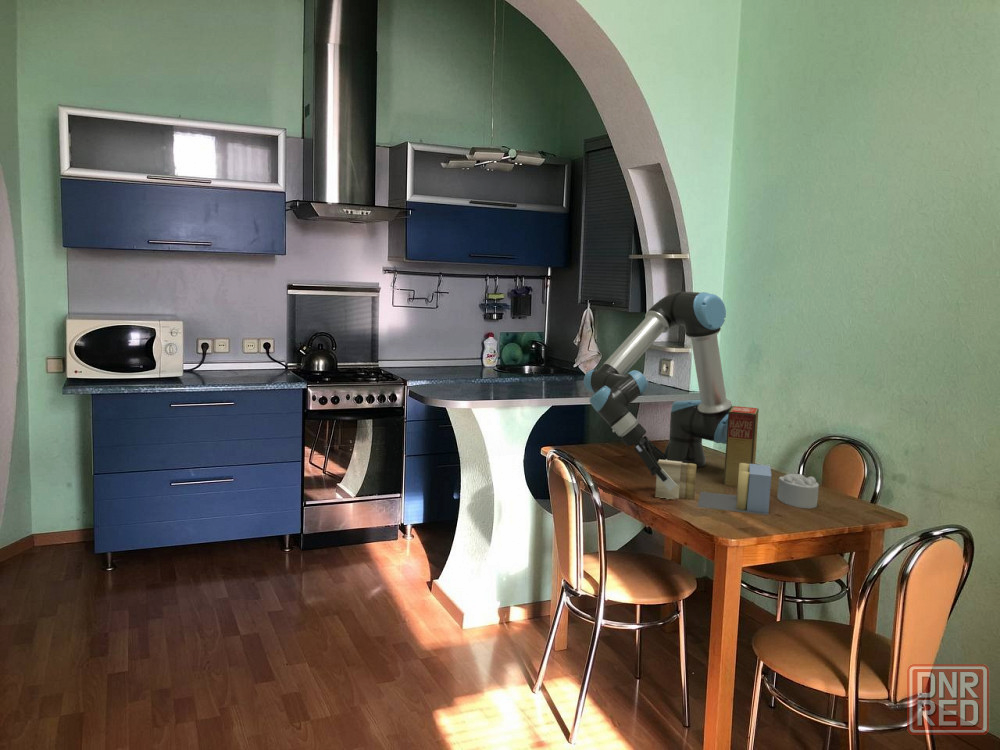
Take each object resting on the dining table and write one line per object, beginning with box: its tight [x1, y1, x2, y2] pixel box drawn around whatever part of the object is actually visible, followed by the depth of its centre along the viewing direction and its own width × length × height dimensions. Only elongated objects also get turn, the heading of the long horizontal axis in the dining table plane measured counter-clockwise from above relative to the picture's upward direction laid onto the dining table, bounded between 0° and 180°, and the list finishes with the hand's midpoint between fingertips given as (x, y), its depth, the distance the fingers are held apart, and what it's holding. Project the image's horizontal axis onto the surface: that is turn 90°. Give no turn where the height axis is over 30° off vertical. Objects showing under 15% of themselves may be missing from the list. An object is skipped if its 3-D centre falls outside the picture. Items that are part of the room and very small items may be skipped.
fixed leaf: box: [736, 463, 772, 514], centre depth 249 cm, size 14×9×11 cm, turn 164°
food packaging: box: [723, 405, 759, 487], centre depth 276 cm, size 13×9×25 cm
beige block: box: [654, 459, 697, 501], centre depth 256 cm, size 5×12×11 cm, turn 74°
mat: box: [697, 491, 769, 516], centre depth 252 cm, size 18×20×1 cm
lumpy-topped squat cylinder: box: [776, 473, 820, 509], centre depth 255 cm, size 10×13×9 cm
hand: (675, 482), depth 256 cm, fingers open, 13 cm apart
